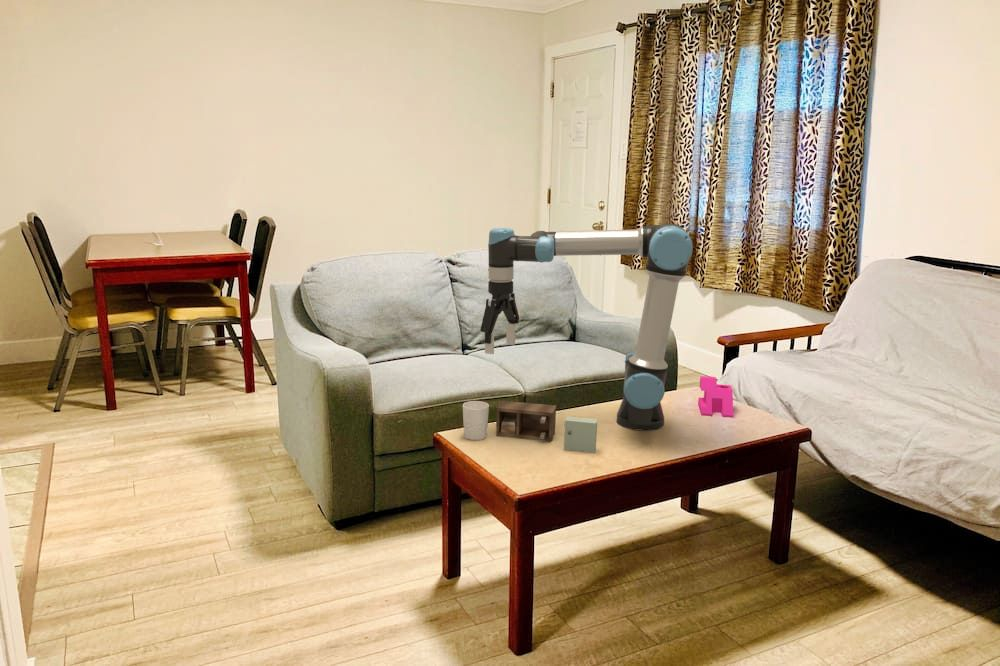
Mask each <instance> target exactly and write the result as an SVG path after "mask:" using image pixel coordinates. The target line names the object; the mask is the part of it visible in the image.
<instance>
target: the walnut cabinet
mask: <svg viewBox="0 0 1000 666" xmlns="http://www.w3.org/2000/svg"><path fill="white" fill-rule="evenodd" d="M556 416H557V405H556V404H555V405H554V404H553V405H552V404H544V403H534V402H533V403H532V402H531V403H530V402H518V401H510V400H509V401H507V400H501V401H500V403H499V404H498V405H497V407H496V421H495V422H496V426H495V427H496V428H495V429H496V430H495V435H496V437H503V438H513V439H514V438H515V439H523V440H524V439H525V440H535V441H542V442H543V441H544V442H552V441H553V439H554V437H555V434H556V423H557V422H556V418H557V417H556Z"/></svg>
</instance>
